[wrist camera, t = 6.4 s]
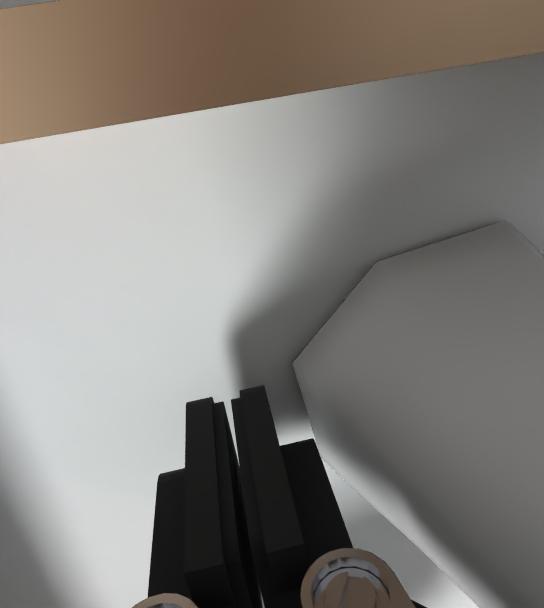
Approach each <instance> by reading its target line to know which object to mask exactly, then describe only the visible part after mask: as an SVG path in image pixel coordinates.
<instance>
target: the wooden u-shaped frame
mask: <svg viewBox="0 0 544 608" xmlns="http://www.w3.org/2000/svg"><path fill="white" fill-rule="evenodd" d="M542 52H544V0H59V1H53V2H46V3H39V4H32V5H26V6H19V7H12V8H5V9H0V144H4V143H10V142H16V141H22V140H28V139H34V138H39V137H45V136H51V135H57V134H63V133H69V132H75V131H81V130H87V129H93V128H99V127H104V126H110V125H116V124H122V123H128V122H134V121H140V120H146V119H152V118H158V117H164V116H169V115H175V114H181V113H187V112H193V111H199V110H205V109H211V108H217V107H223V106H228V105H234V104H240V103H246V102H252V101H258V100H264V99H270V98H276V97H282V96H288V95H293V94H299V93H305V92H311V91H317V90H323V89H329V88H335V87H341V86H347V85H353V84H358V83H364V82H370V81H376V80H382V79H388V78H394V77H400V76H406V75H412V74H417V73H423V72H429V71H435V70H441V69H447V68H453V67H459V66H465V65H471V64H477V63H482V62H488V61H494V60H500V59H506V58H512V57H518V56H524V55H530V54H536V53H542Z"/></svg>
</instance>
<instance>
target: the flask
mask: <svg viewBox="0 0 544 608" xmlns="http://www.w3.org/2000/svg"><path fill="white" fill-rule="evenodd" d="M292 364H293V367H294V371H295V374H296V377H297V380H298V384H299V387H300V390H301V393H302V397H303V400H304V403H305V406H306V410H307V413H308V416H309V419H310V423H311V426H312V429H313V432H314V436H315V439H316V442H317V446H318V449H319V452H320V455H321V458H322V459H323V460H324V461H325V462H326V463H327V464H328V465H329V466H330V467H331V468H332V469H333V470H334V471H335V472H336V473H337V474H338V475H339V476H340V477H341V478H342V479H343V480H344V481H346V482H347V483H348V484H349V485H350V486H351V487H352V488H353V489H354V490H356V491H357V492H358V493H359V494H360V495H361V496H362V497H363V498H364V499H365V500H367V501H368V502H369V503H370V504H371V505H372V506H373V507H374V508H375V509H376V510H378V511H379V512H380V513H381V514H382V515H383V516H384V517H385V518H386V519H387V520H389V521H390V522H391V523H392V524H393V525H394V526H395V527H396V528H397V529H399V530H400V531H401V532H402V533H403V534H404V535H405V536H406V537H407V538H408V539H410V540H411V541H412V542H413V543H414V544H415V545H416V546H417V547H418V548H419V549H420V550H421V551H422V552H423V553H424V554H425V555H426V556H427V557H428V558H429V559H430V560H432V561H433V562H434V563H435V564H436V565H437V566H438V567H439V568H440V569H441V570H442V571H443V572H444V573H445V574H446V575H447V576H448V577H449V578H450V579H451V580H452V581H453V582H454V583H455V584H456V585H457V586H458V587H459V588H460V589H461V590H462V591H463V592H464V593H465V594H466V595H467V596H468V597H469V598H470V599H471V600H472V601H473V602H474V603H475V604H476V605H477V606H478V607H479V608H544V255H543V254H542V253H541V252H539V251H538V250H537V249H536V248H535V247H534V246H533V245H532V244H531V243H530V242H529V241H528V240H527V239H525V238H524V237H523V236H522V235H521V234H520V233H519V232H518V231H517V230H516V229H515V228H514V227H513V226H511V225H510V224H509V223H508V222H507V221H506V220H504V221H501V222H498V223H495V224H492V225H489V226H486V227H483V228H480V229H476V230H473V231H470V232H467V233H464V234H461V235H458V236H455V237H452V238H448V239H445V240H442V241H439V242H436V243H433V244H430V245H427V246H424V247H420V248H417V249H414V250H411V251H408V252H405V253H402V254H399V255H396V256H392V257H389V258H386V259H383V260H380V261H377V262H376V263H375V264H374V265H373V266H372V267H371V269H370V270H369V271H368V272H367V274H366V275H365V276H364V277H363V278H362V280H361V281H360V282H359V283H358V284H357V286H356V287H355V288H354V289H353V290H352V292H351V293H350V294H349V295H348V296H347V298H346V299H345V300H344V301H343V302H342V304H341V305H340V306H339V307H338V309H337V310H336V311H335V312H334V313H333V315H332V316H331V317H330V318H329V319H328V321H327V322H326V323H325V324H324V325H323V327H322V328H321V329H320V330H319V331H318V333H317V334H316V335H315V336H314V337H313V339H312V340H311V341H310V342H309V344H308V345H307V346H306V347H305V348H304V350H303V351H302V352H301V353H300V354H299V356H298V357H297V358H296V359H295V360H294V362H293V363H292Z"/></svg>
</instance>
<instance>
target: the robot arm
mask: <svg viewBox="0 0 544 608" xmlns="http://www.w3.org/2000/svg"><path fill="white" fill-rule="evenodd" d="M240 397H241V398H236V399H232V400H231V405H232V412H233V420H234V427H235V435H236V442H237V450H238V457H239V463H238V459H237V455H236V451H235V447H234V443H233V439H232V434H231V430H230V426H229V422H228V418H227V414H226V410H225V406H224V402H218V403H214V401H213V398H212V397H209V398H205V399H200V400H196V401H191V402H187V403H186V443H185V468H184V469H179V470H175V471H171V472H166V473H162V474H160V475H159V477H158V482H157V493H156V505H155V517H154V529H153V541H152V553H151V565H150V576H149V588H148V598H147V599H145V600H143V601H141V602H140V603H138V604H136V605H134V606H133V607H132V608H263V605H262V598H263V602H264V606H265V608H427V607H425V606H423V605H421V604H419V603H417V602H415V601H413V600H411V599H410V598H409V596H408V595H407V593H406V591H405V590H404V588H403V586H402V585H401V583H400V581H399V580H398V578H397V577H396V575H395V573H394V572H393V571H392V570H391V568H390V567H389V566H388V565H387V564H386V562H385V561H383V560H382V559H380V558H379V557H377V556H376V555H374V554H373V553H370V552H367V551H364V550H361V549H355V548H353V546H352V544H351V541H350V538H349V535H348V532H347V530H346V527H345V524H344V521H343V518H342V516H341V513H340V510H339V507H338V504H337V502H336V499H335V496H334V493H333V490H332V488H331V485H330V482H329V479H328V476H327V474H326V471H325V468H324V465H323V462H322V460H321V457H320V454H319V451H318V449H317V446H316V443H315V441H314V439H313V438H312V439H308V440H304V441H299V442H295V443H291V444H287V445H282V446H279V442H278V438H277V434H276V430H275V426H274V422H273V418H272V414H271V410H270V406H269V402H268V398H267V394H266V391H265V387H264V385H263V386H259V387H254V388H250V389H245V390H241V391H240ZM239 465H240V467H239ZM261 595H262V598H261Z"/></svg>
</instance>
